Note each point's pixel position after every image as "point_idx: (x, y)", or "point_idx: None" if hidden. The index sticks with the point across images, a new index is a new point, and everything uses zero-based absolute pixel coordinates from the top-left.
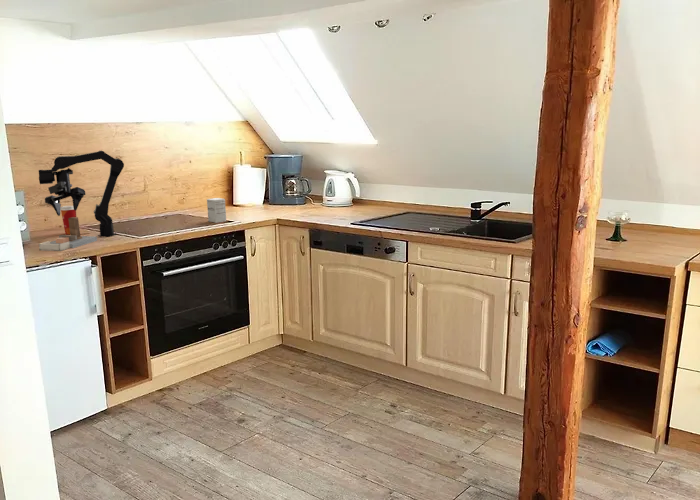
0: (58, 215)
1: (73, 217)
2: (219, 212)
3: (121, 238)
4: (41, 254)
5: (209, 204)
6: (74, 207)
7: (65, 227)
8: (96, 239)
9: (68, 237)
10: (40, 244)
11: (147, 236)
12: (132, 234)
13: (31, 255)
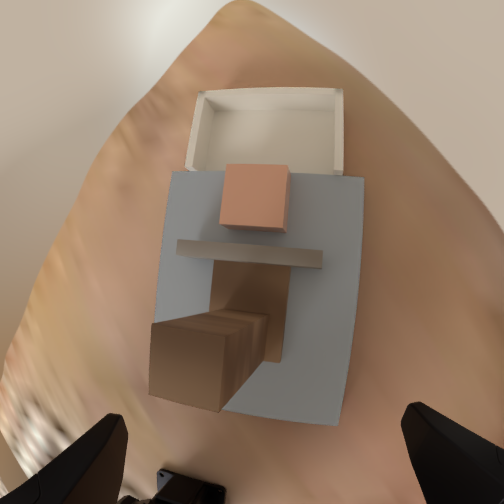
0: (409, 404)
1: (194, 391)
2: None
3: (87, 421)
4: (262, 48)
5: None
6: (91, 431)
7: None
8: None
9: (221, 222)
10: (329, 89)
11: (34, 434)
12: None
13: (295, 30)
